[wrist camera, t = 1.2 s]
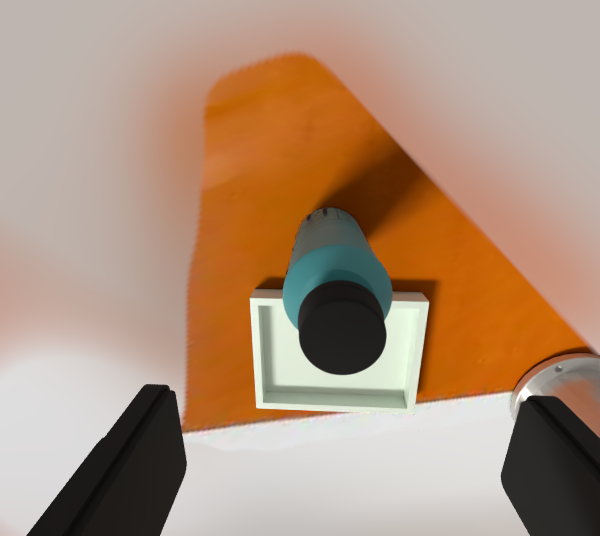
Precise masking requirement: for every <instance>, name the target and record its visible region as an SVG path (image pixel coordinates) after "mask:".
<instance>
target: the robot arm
mask: <svg viewBox="0 0 600 536" xmlns="http://www.w3.org/2000/svg"><path fill="white" fill-rule="evenodd" d="M510 409H511V415H512V417H513V419H514V422H515V426H514V429H513V433H512V436H511V440H510V443H509V447H508V451H507V454H506V458H505V462H504V465H503V469H502V472H501V482H502V485H503V488H504V490H505V492H506V494H507V496H508V497H509V499H510V501H511V503H512V505H513V506H514V508H515V510H516V512H517V513H518V515H519V517H520V519H521V520H522V522H523V524H524V526H525V527H526V529H527V531H528V533H529V534H530V536H600V355H595V354H590V353H574V354H566V355H562V356H558V357H554V358H552V359H550V360H547V361H545V362H543V363H541V364H539V365H538V366H536V367H535V368H533V369H532V370H531V371H529V372H528V373H527V374H526V375H525V376H524V377H523V378H522V379H521V381H520V382H519V383H518V385H517V386H516V388H515V390H514V392H513V395H512V398H511V406H510ZM186 466H187V461H186V455H185V449H184V442H183V436H182V430H181V424H180V418H179V413H178V406H177V400H176V394H175V392H174V391H172V390H170V388H169V386H168V385H155V384H154V385H153V384H146V385H144V386H143V388H142V389H141V390H140V391H139V392H138V394H137V395H136V396H135V398H134V399H133V400H132V402H131V403H130V404H129V406H128V407H127V408H126V410H125V411H124V412H123V414H122V415H121V416H120V418H119V419H118V420H117V422H116V423H115V424H114V426H113V427H112V428H111V430H110V431H109V432H108V433H107V435H106V436H105V437H104V438H102V439H101V440H100V441H99V442H98V443H97V444H96V446H95V447H94V448H93V449H92V451H91V452H90V453H89V455H88V456H87V457H86V459H85V460H84V461H83V463H82V464H81V465H80V466H79V468H78V469H77V470H76V472H75V473H74V474H73V476H72V477H71V478H70V479H69V481H68V482H67V483H66V485H65V486H64V487H63V489H62V490H61V491H60V492H59V494H58V495H57V497H56V498H55V499H54V500H53V502H52V503H51V504H50V506H49V507H48V508H47V510H46V511H45V512H44V513H43V515H42V516H41V517H40V519H39V520H38V521H37V523H36V524H35V525H34V527H33V528H32V529H31V530H30V532H29V533H28V534H27V536H160V534H161V532H162V529H163V527H164V524H165V522H166V519H167V517H168V514H169V512H170V510H171V507H172V505H173V503H174V500H175V497H176V495H177V493H178V490H179V488H180V486H181V483H182V481H183V478H184V475H185V472H186Z"/></svg>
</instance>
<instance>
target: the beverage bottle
mask: <svg viewBox="0 0 600 536" xmlns="http://www.w3.org/2000/svg"><path fill="white" fill-rule="evenodd" d="M328 207H332V206H328ZM313 211H314V210H313ZM306 216H307V215H306ZM306 216H305V217H306ZM354 218H355V217H354ZM354 218H353V216H351V215H349V214H348V213H347V212H346V211H344V210H343V209H342V210H341V209H336V207H335V208H326V207H325V208H323V209H321V208H320V209H319V210H318V209H317V211H314V212H313V213H311V214H309V215H308V216H307V218H306V219H305V220H304V221H303V220H302V222H303V223H301V226H300V229H299V228H298V229H299V232H296V233H298V235H296V236H297V239H296V238H295V239H296V243H295V246H294V248H293V253H292V257H291V261H290V264H288V265H289V269H288V268H287V267H286V268H287V272H288V273H287V272H286V275H287V276H286V277H285V281H284V285H283V293H282V298H283V305H284V309H285V311H286V314H287V316H288V318H289V320H290V322H291V323H292V324H293V326H294V327H295V328H296V329H297V330H298V331H299V343H300V347H301V349H302V351H303V353H304V355H305V357H306V358H307V359H308V360H309V362H310V363H311V364H313V365H314V366H315V367H316V368H318V369H320V370H322V371H324V372H326V373H329V374H334V375H351V374H356V373H358V372H361V371H363V370H365V369H367V368H369V367H370V366H371V365H373V364H374V363H375V362H376V361H377V360H378V359H379V357H380V356H381V354H382V353H383V350H384V348H385V345H386V338H387V332H386V326H385V322H384V321H385V319H386V317H387V315H388V313H389V311H390V308H391V304H392V297H393V294H392V285H391V281H390V278H389V276H388V273H387V271H386V270H385V268H384V267H383V265H382V264H381V263H380V261H379V260H378V259H377V257H376V256H375V254H374V252H373V251H372V248H371V246H369V243H368V241H367V240H366V238H365V236H364V234H363V233H362V231H361V229H360V226H359V225H358V224H357V221H355V220H356V219H354ZM298 229H297V230H298ZM296 236H295V237H296Z"/></svg>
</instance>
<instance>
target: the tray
mask: <svg viewBox="0 0 600 536" xmlns="http://www.w3.org/2000/svg"><path fill="white" fill-rule="evenodd" d="M282 293H283V289H254V291H253V293H252V295H251V297H250V307H251V324H252V340H253V357H254V374H255V391H256V407H257V408H265V409H289V410H314V411H338V412H362V413H386V414H410V415H414V409H415V401H416V394H417V387H418V380H419V373H420V365H421V358H422V351H423V344H424V336H425V329H426V322H427V315H428V308H429V301H428V300H427V298H426V297H425V296H424V295H423V293H422V292H392V294H393V297H392V304H391V308H390V311H389V313H388V315H387V317H386V319H385V321H384V322H385V326H386V332H387V338H386V345H385V348H384V350H383V353H382V354H381V356H380V357H379V359H378V360H377V361H376V362H375V363H374V364H373V365H371V366H370V367H369V368H367V369H365V370H363V371H361V372H358V373H356V374H351V375H334V374H329V373H326V372H324V371H322V370H320V369H318V368H316V367H315V366H314V365H313V364H311V363H310V362H309V360H308V359H307V358H306V357H305V355H304V353H303V351H302V349H301V347H300V343H299V331H298V330H297V329H296V328H295V327H294V326H293V324H292V323H291V322H290V320H289V318H288V316H287V314H286V311H285V309H284V305H283V298H282Z"/></svg>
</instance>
